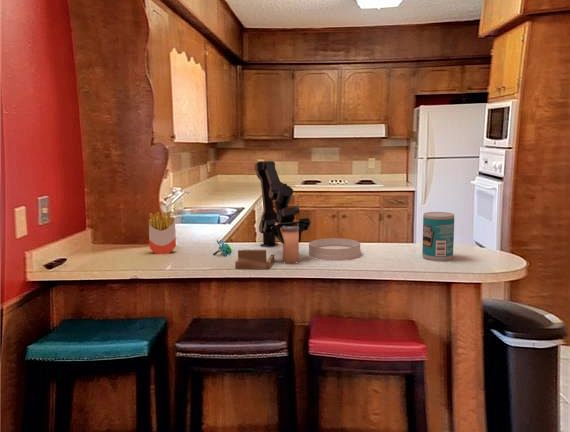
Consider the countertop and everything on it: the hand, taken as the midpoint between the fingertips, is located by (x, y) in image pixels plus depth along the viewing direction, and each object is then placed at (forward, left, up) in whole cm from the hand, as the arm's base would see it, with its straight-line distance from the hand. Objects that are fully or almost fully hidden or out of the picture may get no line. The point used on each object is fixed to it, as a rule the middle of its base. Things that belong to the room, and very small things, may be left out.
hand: (291, 242), depth 207 cm
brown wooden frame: (+6, -13, -8) cm, 17 cm away
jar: (-1, -1, -8) cm, 8 cm away
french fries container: (-4, -60, -8) cm, 61 cm away
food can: (-21, +56, -8) cm, 60 cm away
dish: (-18, +14, -9) cm, 24 cm away
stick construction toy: (-8, -34, -8) cm, 35 cm away
